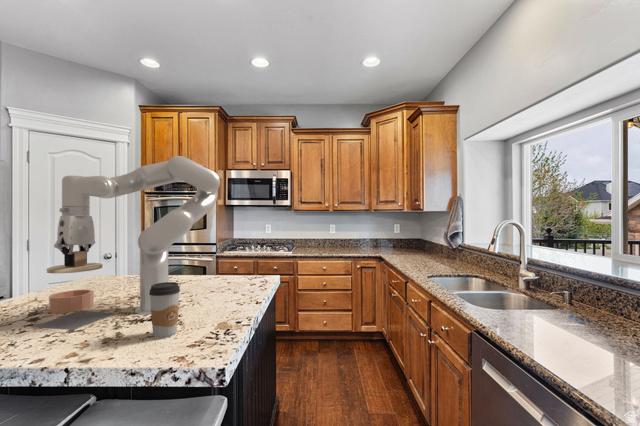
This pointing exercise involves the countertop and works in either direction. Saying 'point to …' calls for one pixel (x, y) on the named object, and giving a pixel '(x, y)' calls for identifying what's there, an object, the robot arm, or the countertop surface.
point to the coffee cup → (164, 308)
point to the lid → (76, 265)
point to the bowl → (71, 301)
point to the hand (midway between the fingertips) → (75, 264)
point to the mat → (74, 320)
